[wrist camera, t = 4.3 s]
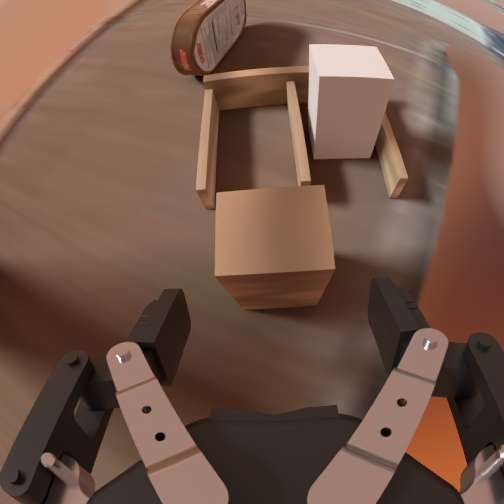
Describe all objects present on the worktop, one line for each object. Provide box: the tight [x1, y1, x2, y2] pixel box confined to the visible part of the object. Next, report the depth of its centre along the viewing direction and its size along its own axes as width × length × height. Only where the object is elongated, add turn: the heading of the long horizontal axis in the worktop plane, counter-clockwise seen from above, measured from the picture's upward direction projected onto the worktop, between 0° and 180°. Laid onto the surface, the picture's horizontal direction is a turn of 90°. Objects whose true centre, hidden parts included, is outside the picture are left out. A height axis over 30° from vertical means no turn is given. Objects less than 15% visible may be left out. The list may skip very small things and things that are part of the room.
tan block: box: [215, 185, 335, 310], centre depth 18 cm, size 5×4×9 cm
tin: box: [170, 0, 246, 76], centre depth 28 cm, size 15×3×8 cm, turn 159°
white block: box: [308, 44, 394, 159], centre depth 21 cm, size 5×4×9 cm
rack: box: [196, 66, 408, 209], centre depth 24 cm, size 15×12×4 cm
